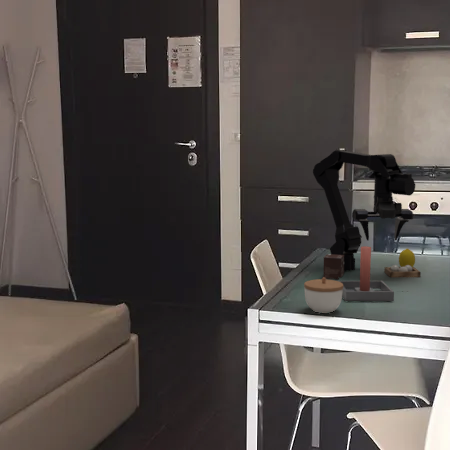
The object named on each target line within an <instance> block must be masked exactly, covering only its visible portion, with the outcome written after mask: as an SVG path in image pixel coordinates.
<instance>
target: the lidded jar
mask: <svg viewBox="0 0 450 450" xmlns="http://www.w3.org/2000/svg"><path fill="white" fill-rule="evenodd" d="M339 281H340V280H336V279H326V278H324V277H322V278H321V279H317V278H316V279H311V280H310V279H309V280H306V281H305V282H304V284H303V285H304V286H303V287H304V299H305V303H306V304H307V306H308V307H309V308H310V309H311V311H312V310H313V311H315V312H322V313H327V312H333V311H334V312H335V310H337V309H338V308H339V306H340V304H341V303H342V300H343V298H342V295H343V283H341V282H339ZM313 311H312V312H313ZM315 312H314V313H315ZM334 312H333V313H334Z"/></svg>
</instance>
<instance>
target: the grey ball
mask: <svg viewBox="0 0 450 450" xmlns="http://www.w3.org/2000/svg"><path fill="white" fill-rule="evenodd" d="M399 267H400V268H399V272H408V269H407V268H406V267H401V266H399Z"/></svg>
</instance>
